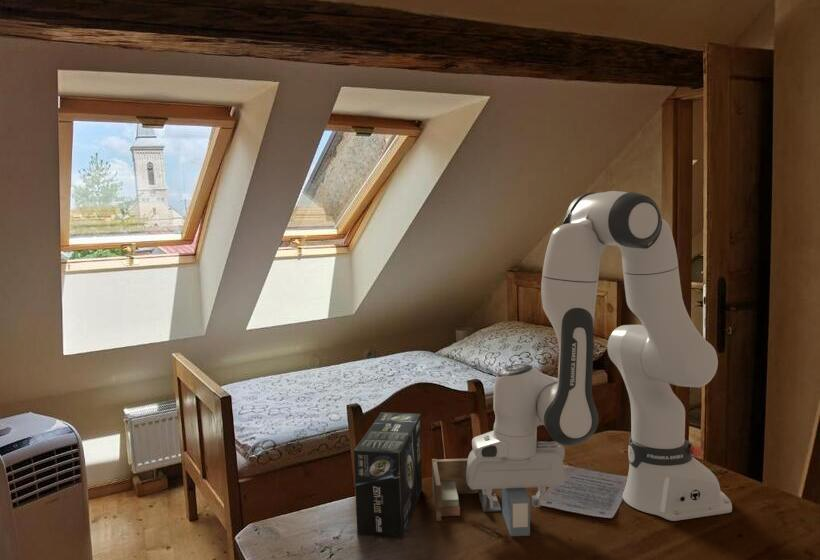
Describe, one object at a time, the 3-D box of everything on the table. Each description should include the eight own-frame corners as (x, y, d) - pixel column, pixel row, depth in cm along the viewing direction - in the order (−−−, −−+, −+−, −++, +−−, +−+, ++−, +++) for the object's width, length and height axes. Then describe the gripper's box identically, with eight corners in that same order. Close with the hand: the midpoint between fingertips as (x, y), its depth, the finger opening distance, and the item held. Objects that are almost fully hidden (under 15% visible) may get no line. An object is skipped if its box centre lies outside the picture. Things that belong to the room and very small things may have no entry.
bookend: (495, 494, 150) (495, 478, 150) (501, 511, 142) (501, 493, 142) (478, 495, 150) (478, 478, 150) (483, 511, 142) (483, 494, 142)
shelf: (491, 489, 153) (491, 456, 152) (501, 518, 139) (501, 482, 138) (432, 491, 153) (431, 459, 152) (436, 520, 139) (435, 485, 138)
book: (520, 512, 142) (520, 477, 141) (530, 536, 132) (530, 498, 131) (502, 512, 142) (501, 477, 141) (510, 536, 132) (510, 499, 131)
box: (403, 540, 131) (400, 450, 129) (356, 536, 133) (352, 448, 131) (423, 489, 154) (421, 412, 151) (382, 487, 156) (380, 410, 153)
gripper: (560, 435, 138) (560, 497, 139) (464, 438, 137) (465, 500, 139) (568, 446, 132) (568, 511, 133) (468, 450, 131) (469, 515, 133)
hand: (514, 506), depth 136 cm, fingers open, 8 cm apart
